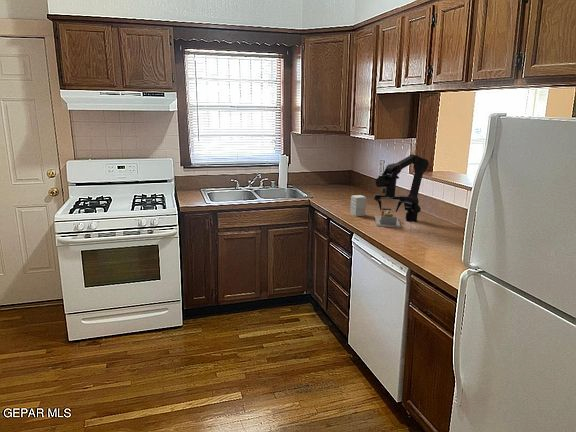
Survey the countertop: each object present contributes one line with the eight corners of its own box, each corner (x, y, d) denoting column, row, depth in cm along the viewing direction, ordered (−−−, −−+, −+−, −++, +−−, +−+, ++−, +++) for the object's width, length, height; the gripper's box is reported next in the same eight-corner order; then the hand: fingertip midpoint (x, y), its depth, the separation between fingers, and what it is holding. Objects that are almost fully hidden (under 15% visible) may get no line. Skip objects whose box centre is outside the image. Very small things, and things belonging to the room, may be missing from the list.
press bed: (396, 218, 285) (397, 209, 283) (400, 227, 263) (401, 217, 262) (374, 217, 286) (375, 208, 285) (376, 226, 265) (377, 216, 263)
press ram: (391, 215, 284) (392, 208, 283) (392, 218, 277) (393, 211, 276) (380, 215, 285) (380, 207, 284) (381, 218, 278) (381, 210, 276)
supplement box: (359, 213, 296) (360, 194, 293) (365, 215, 289) (366, 197, 286) (349, 213, 293) (350, 195, 290) (355, 216, 287) (356, 197, 283)
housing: (392, 223, 267) (393, 212, 265) (383, 222, 267) (384, 211, 266) (391, 221, 271) (392, 210, 270) (383, 220, 272) (384, 209, 270)
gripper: (405, 184, 270) (402, 209, 274) (374, 183, 273) (372, 207, 277) (407, 187, 260) (404, 213, 263) (375, 186, 262) (373, 211, 266)
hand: (388, 211), depth 268 cm, fingers open, 9 cm apart
